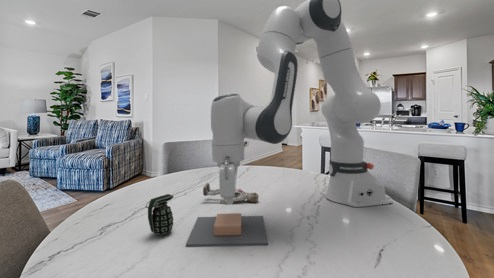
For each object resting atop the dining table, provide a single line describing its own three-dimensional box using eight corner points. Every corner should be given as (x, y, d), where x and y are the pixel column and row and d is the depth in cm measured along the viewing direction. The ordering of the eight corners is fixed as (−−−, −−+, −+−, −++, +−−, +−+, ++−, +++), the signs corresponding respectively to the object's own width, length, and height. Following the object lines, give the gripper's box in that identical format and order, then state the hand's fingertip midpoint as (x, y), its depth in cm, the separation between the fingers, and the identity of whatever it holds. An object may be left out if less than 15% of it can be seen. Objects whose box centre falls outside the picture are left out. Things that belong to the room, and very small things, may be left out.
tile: (241, 213, 73) (241, 225, 65) (241, 222, 73) (241, 235, 65) (217, 213, 72) (213, 226, 65) (217, 222, 73) (214, 236, 65)
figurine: (207, 181, 95) (259, 187, 93) (206, 196, 96) (258, 202, 94) (202, 186, 89) (258, 193, 87) (201, 201, 90) (257, 208, 88)
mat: (262, 217, 77) (262, 215, 77) (267, 245, 61) (267, 242, 61) (197, 218, 77) (197, 217, 77) (185, 246, 61) (185, 244, 61)
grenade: (166, 226, 72) (165, 192, 71) (178, 232, 69) (177, 196, 68) (145, 235, 67) (143, 199, 66) (157, 241, 64) (154, 203, 63)
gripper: (239, 160, 58) (241, 217, 60) (240, 148, 79) (241, 190, 80) (212, 161, 58) (214, 218, 60) (220, 148, 79) (221, 191, 80)
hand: (230, 202), depth 70 cm, fingers closed
